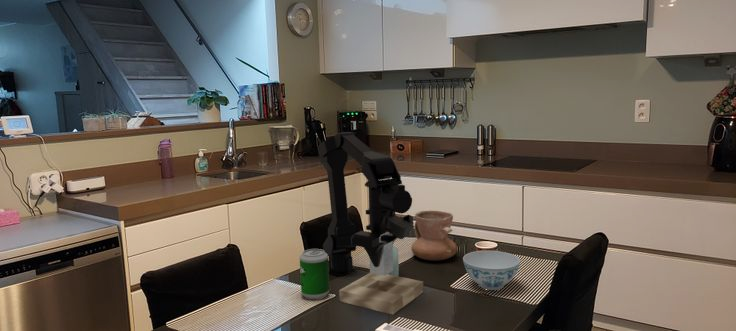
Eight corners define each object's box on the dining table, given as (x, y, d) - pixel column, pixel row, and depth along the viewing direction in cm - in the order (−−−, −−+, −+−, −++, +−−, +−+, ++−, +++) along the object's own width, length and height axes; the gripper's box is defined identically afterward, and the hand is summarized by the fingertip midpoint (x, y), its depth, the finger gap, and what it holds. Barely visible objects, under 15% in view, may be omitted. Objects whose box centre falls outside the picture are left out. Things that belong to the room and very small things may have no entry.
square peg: (369, 272, 136) (369, 243, 135) (379, 267, 140) (378, 238, 138) (384, 275, 134) (383, 245, 132) (393, 270, 137) (392, 241, 136)
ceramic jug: (468, 260, 164) (468, 216, 162) (431, 268, 157) (430, 222, 156) (435, 246, 180) (434, 206, 178) (399, 253, 173) (398, 211, 171)
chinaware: (473, 273, 153) (473, 247, 152) (525, 281, 145) (525, 254, 144) (455, 291, 140) (455, 263, 139) (511, 301, 133) (511, 272, 131)
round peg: (371, 277, 152) (370, 250, 151) (383, 270, 158) (382, 244, 156) (391, 281, 148) (390, 254, 147) (402, 273, 154) (402, 247, 153)
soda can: (333, 291, 142) (332, 249, 140) (322, 302, 135) (320, 257, 133) (308, 288, 144) (306, 246, 143) (296, 299, 137) (294, 255, 136)
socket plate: (339, 301, 135) (339, 290, 135) (373, 281, 148) (372, 271, 148) (392, 314, 127) (392, 302, 126) (423, 292, 140) (423, 281, 139)
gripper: (387, 217, 122) (389, 281, 124) (424, 201, 137) (425, 258, 140) (349, 212, 128) (350, 273, 130) (388, 197, 143) (389, 252, 146)
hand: (381, 264), depth 136 cm, fingers closed on square peg, 4 cm apart
